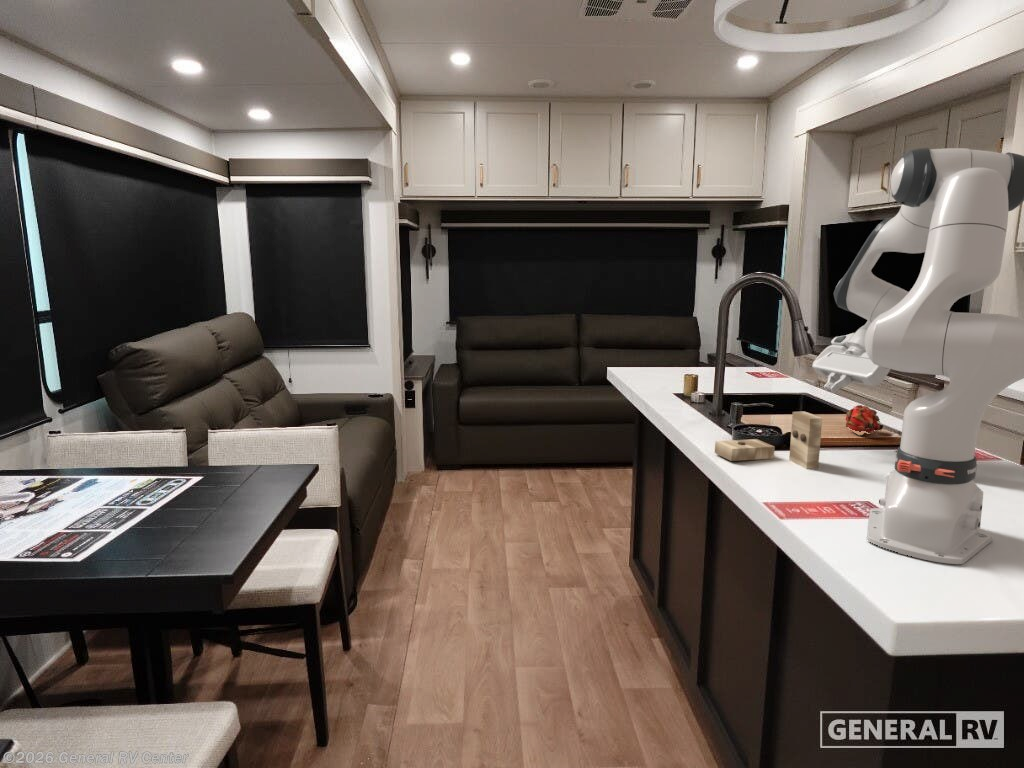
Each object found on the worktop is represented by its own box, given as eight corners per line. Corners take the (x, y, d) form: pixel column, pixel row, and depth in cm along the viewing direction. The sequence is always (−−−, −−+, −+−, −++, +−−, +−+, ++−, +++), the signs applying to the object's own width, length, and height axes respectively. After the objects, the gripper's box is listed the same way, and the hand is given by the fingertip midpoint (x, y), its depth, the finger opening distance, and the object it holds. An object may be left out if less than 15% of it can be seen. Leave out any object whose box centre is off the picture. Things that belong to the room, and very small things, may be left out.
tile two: (801, 459, 157) (805, 411, 155) (819, 468, 150) (823, 418, 148) (788, 459, 157) (791, 411, 154) (805, 469, 150) (809, 418, 148)
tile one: (756, 437, 164) (715, 439, 161) (775, 445, 157) (732, 447, 154) (755, 451, 165) (714, 453, 161) (773, 459, 158) (730, 462, 155)
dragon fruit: (856, 433, 185) (869, 451, 174) (832, 416, 185) (844, 432, 174) (878, 411, 182) (893, 428, 171) (854, 394, 182) (868, 409, 170)
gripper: (907, 363, 150) (868, 407, 150) (842, 353, 170) (808, 391, 169) (893, 345, 149) (853, 389, 148) (829, 336, 168) (794, 375, 167)
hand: (829, 390), depth 159 cm, fingers closed
